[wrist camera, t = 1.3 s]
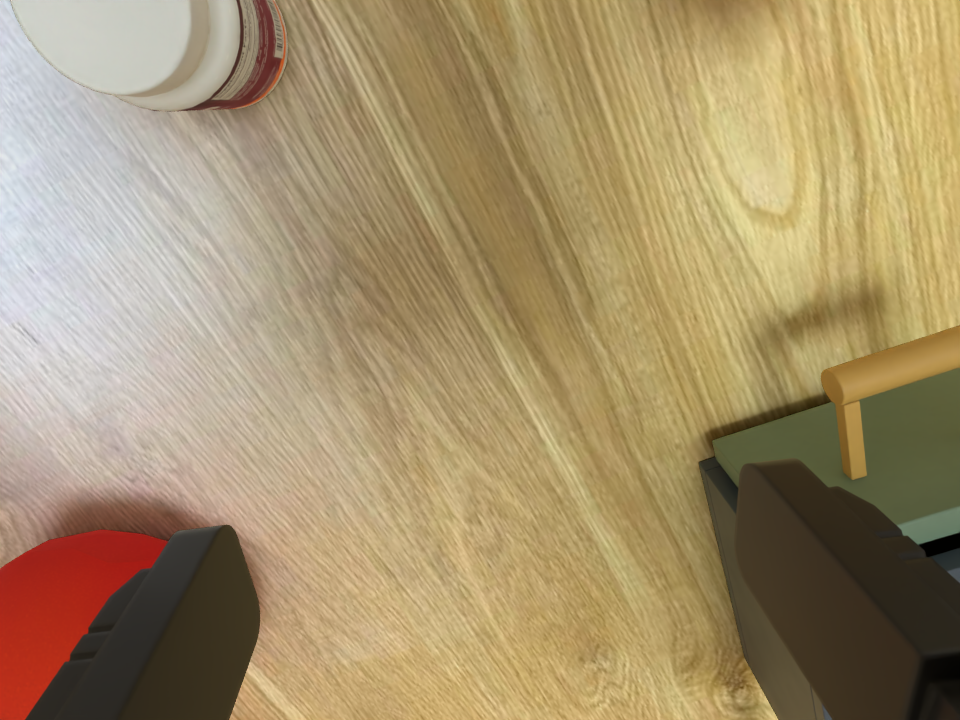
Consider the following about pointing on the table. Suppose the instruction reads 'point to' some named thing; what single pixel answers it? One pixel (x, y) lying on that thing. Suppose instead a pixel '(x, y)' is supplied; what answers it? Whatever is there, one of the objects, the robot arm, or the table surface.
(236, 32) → the pill bottle
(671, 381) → the table surface
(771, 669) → the cabinet
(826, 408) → the drawer
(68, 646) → the tomato
